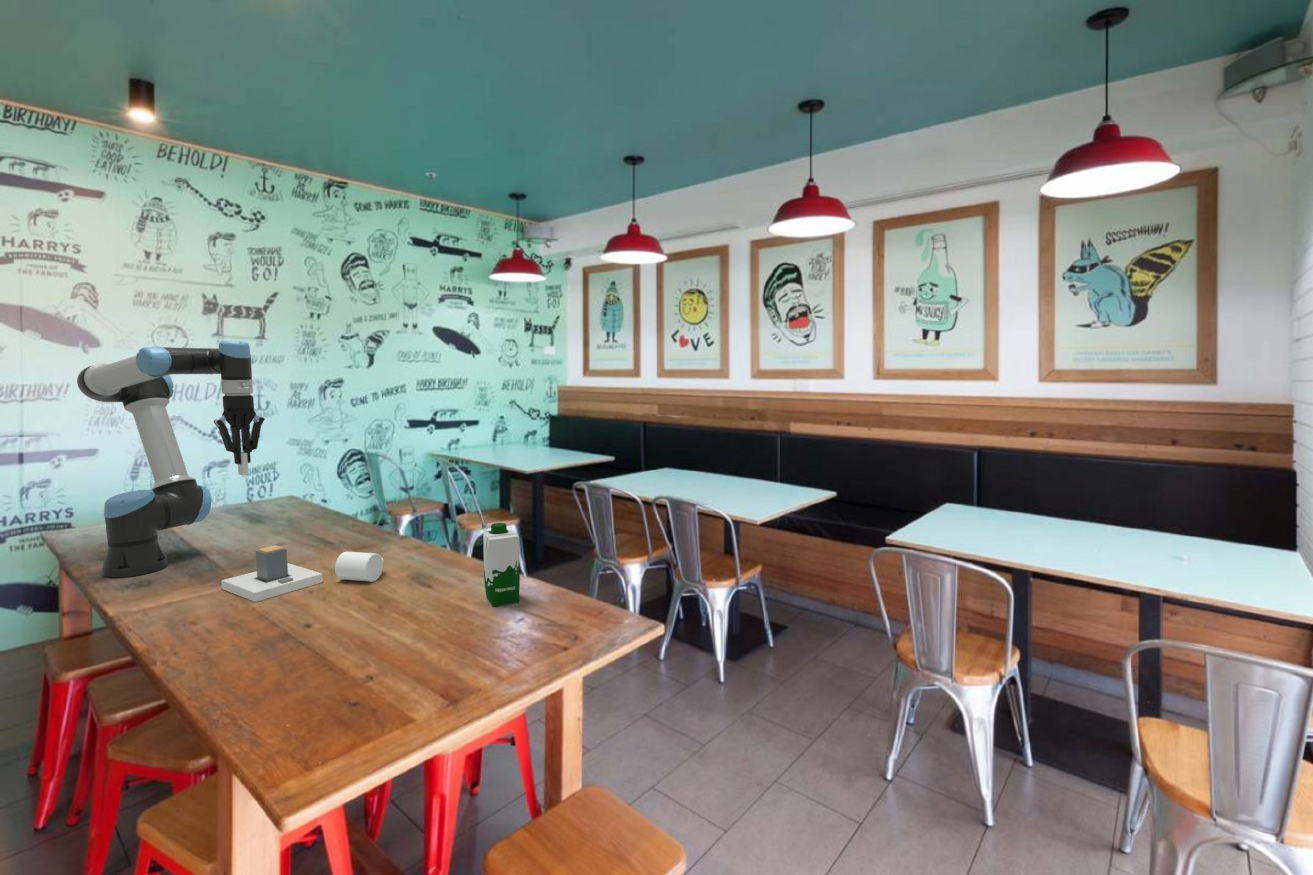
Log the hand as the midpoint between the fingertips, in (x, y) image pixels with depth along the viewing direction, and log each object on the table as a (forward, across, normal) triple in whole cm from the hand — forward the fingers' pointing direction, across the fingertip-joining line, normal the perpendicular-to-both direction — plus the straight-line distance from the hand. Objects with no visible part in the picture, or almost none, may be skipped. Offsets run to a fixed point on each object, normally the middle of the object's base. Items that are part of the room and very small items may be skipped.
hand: (243, 474), depth 185 cm
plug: (+29, -3, -19) cm, 35 cm away
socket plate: (+29, -3, -19) cm, 35 cm away
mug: (+30, +15, -34) cm, 48 cm away
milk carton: (+30, +24, -81) cm, 90 cm away
